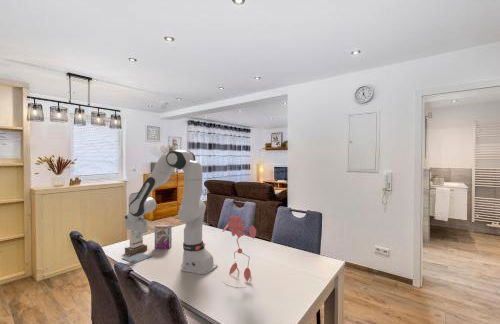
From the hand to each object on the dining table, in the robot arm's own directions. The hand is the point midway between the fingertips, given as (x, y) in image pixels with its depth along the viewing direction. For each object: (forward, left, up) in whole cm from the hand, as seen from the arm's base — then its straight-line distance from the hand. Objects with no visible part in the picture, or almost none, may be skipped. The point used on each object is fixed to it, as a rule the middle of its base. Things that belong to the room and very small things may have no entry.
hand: (136, 237), depth 156 cm
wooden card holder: (+10, -6, -14) cm, 18 cm away
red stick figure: (-73, -11, -14) cm, 75 cm away
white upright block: (0, 0, -6) cm, 6 cm away
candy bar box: (0, -21, -14) cm, 25 cm away
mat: (0, 0, -14) cm, 14 cm away
